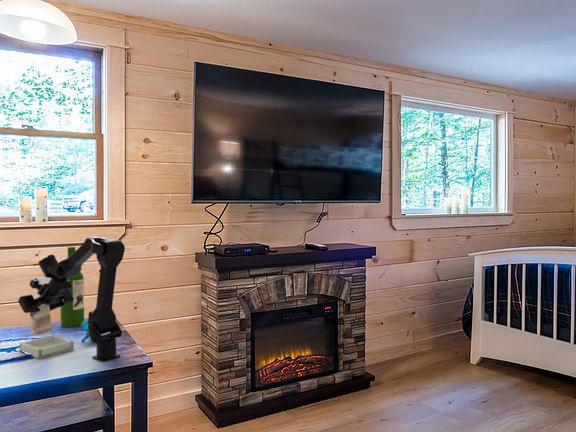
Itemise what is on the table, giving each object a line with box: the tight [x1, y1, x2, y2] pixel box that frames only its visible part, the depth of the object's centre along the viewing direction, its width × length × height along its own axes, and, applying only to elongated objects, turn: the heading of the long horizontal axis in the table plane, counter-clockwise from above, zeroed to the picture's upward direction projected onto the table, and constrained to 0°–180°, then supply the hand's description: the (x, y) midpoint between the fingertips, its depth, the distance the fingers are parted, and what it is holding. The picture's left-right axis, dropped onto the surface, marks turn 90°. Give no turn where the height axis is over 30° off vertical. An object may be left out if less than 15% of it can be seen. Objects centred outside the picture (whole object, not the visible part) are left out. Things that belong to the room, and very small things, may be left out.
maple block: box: [29, 295, 53, 336], centre depth 176 cm, size 5×5×13 cm
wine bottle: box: [60, 246, 85, 328], centre depth 197 cm, size 9×9×32 cm
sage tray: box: [19, 334, 74, 360], centre depth 164 cm, size 13×12×3 cm
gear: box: [80, 321, 90, 343], centre depth 175 cm, size 11×6×10 cm
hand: (37, 313), depth 177 cm, fingers closed on maple block, 5 cm apart
